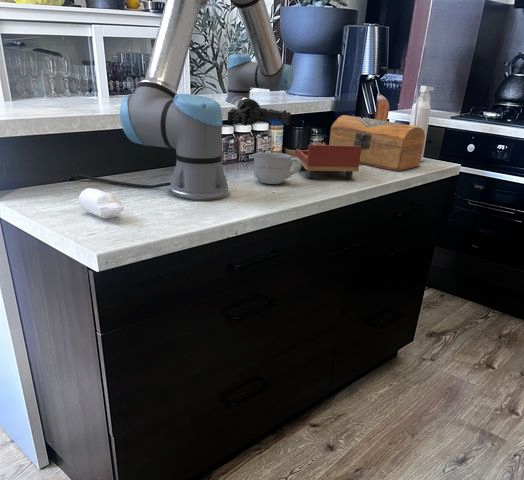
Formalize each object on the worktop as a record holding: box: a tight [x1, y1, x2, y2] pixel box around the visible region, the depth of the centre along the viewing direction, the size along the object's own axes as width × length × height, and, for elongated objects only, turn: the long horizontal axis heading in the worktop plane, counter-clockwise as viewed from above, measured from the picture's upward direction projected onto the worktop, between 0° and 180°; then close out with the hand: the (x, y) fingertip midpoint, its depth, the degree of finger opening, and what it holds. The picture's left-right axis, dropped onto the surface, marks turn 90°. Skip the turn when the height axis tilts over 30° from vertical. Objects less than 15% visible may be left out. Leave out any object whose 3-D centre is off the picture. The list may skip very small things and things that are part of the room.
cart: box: [294, 144, 362, 180], centre depth 165 cm, size 16×19×10 cm
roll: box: [78, 187, 125, 219], centre depth 116 cm, size 6×12×6 cm, turn 48°
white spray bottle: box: [409, 85, 435, 162], centre depth 188 cm, size 7×12×25 cm, turn 140°
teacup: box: [253, 152, 301, 185], centre depth 151 cm, size 14×11×8 cm
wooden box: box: [328, 114, 425, 172], centre depth 185 cm, size 30×16×14 cm, turn 47°
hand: (268, 120), depth 153 cm, fingers open, 13 cm apart
